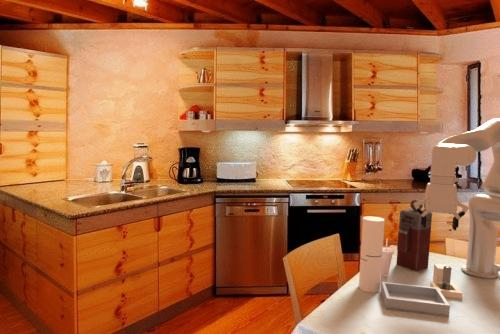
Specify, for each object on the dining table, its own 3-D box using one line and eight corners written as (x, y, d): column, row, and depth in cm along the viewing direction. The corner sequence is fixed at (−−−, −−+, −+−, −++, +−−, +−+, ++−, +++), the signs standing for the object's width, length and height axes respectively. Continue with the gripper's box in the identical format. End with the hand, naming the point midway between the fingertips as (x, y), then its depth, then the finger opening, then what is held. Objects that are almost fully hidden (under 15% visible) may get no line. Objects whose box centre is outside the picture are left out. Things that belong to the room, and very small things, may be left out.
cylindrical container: (377, 294, 125) (382, 222, 123) (356, 288, 129) (360, 219, 126) (382, 286, 131) (386, 218, 129) (361, 282, 135) (366, 215, 132)
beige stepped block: (450, 283, 136) (451, 265, 135) (461, 298, 123) (463, 278, 123) (427, 281, 137) (428, 263, 137) (436, 295, 125) (437, 276, 124)
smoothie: (393, 277, 140) (395, 241, 139) (375, 275, 141) (378, 240, 140) (390, 271, 146) (392, 236, 145) (373, 269, 148) (375, 235, 146)
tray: (437, 297, 124) (438, 287, 123) (449, 316, 111) (449, 305, 111) (380, 291, 128) (381, 281, 127) (386, 308, 115) (386, 298, 115)
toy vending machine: (392, 265, 152) (397, 199, 150) (408, 260, 159) (412, 196, 156) (412, 273, 145) (418, 203, 142) (428, 267, 152) (433, 200, 149)
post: (448, 291, 129) (450, 266, 128) (450, 294, 127) (452, 269, 126) (440, 290, 130) (442, 265, 129) (442, 293, 127) (444, 268, 126)
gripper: (467, 180, 130) (463, 227, 132) (414, 177, 135) (411, 223, 137) (473, 183, 123) (469, 233, 125) (416, 180, 128) (413, 228, 130)
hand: (439, 228), depth 131 cm, fingers open, 9 cm apart
